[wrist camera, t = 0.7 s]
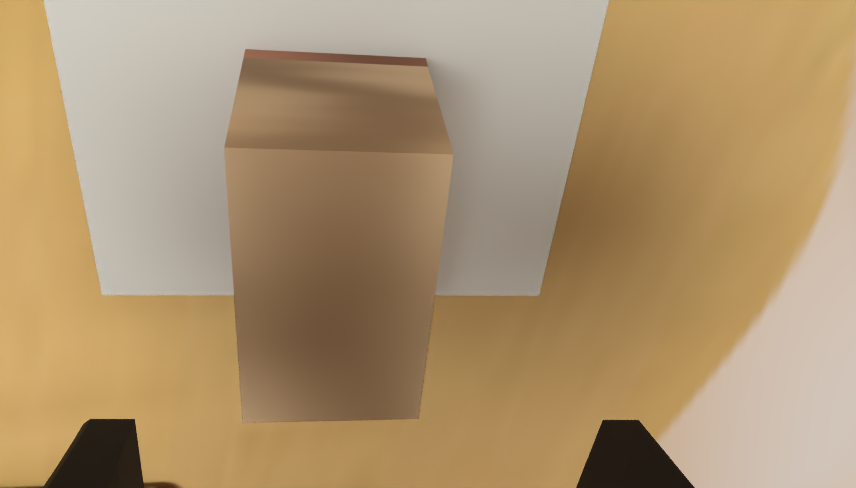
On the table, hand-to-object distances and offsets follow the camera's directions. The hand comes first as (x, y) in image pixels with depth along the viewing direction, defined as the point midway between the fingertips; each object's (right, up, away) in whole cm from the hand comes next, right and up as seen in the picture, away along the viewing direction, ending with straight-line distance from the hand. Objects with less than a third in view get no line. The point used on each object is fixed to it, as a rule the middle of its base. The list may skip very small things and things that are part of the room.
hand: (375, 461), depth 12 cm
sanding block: (-2, +5, +7) cm, 9 cm away
